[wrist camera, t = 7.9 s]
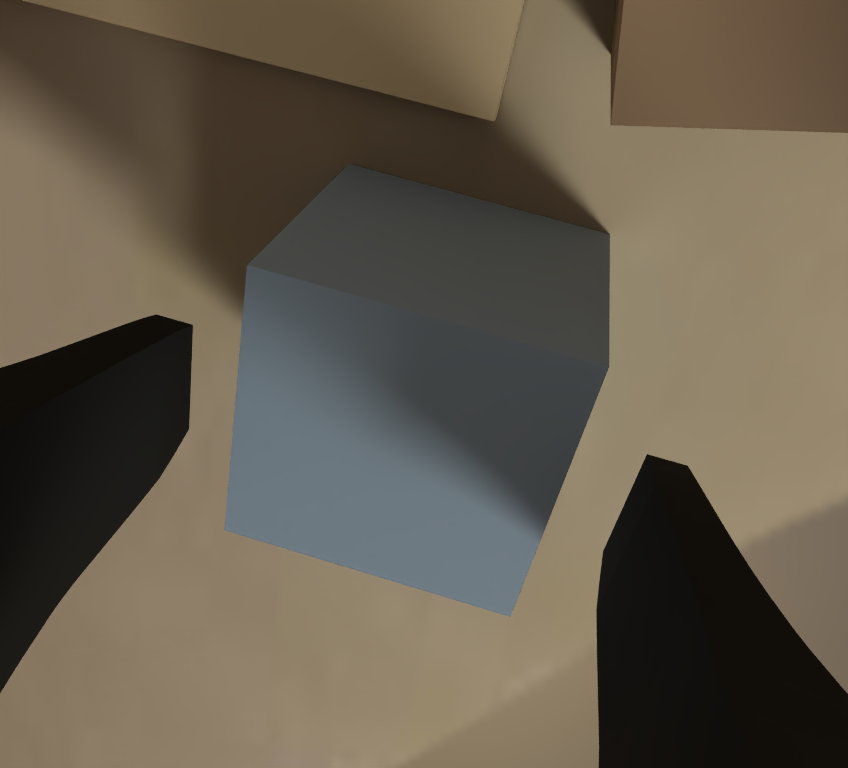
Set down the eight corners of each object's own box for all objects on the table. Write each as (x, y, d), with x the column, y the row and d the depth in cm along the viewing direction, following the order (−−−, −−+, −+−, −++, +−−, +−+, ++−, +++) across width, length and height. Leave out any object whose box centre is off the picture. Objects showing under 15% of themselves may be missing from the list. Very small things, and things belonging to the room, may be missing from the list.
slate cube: (317, 380, 17) (224, 529, 13) (350, 162, 15) (247, 265, 11) (534, 443, 17) (510, 616, 13) (609, 232, 14) (609, 366, 10)
